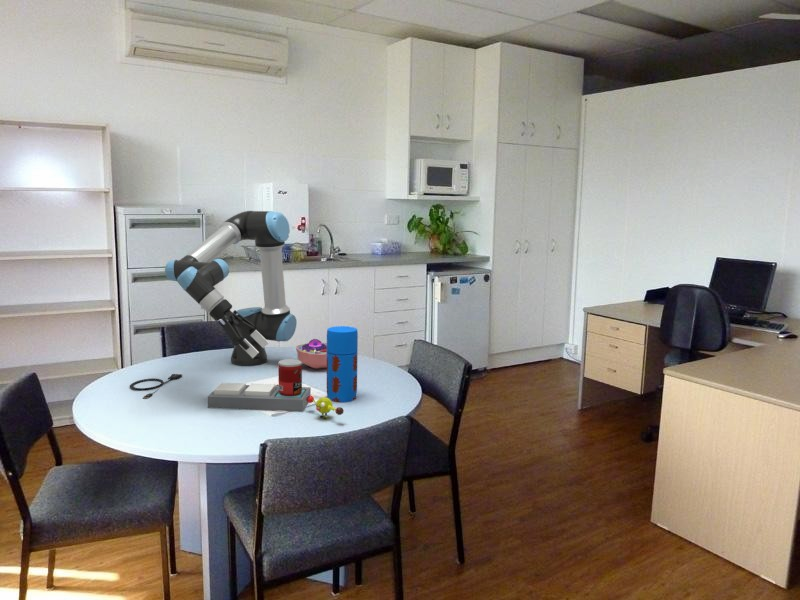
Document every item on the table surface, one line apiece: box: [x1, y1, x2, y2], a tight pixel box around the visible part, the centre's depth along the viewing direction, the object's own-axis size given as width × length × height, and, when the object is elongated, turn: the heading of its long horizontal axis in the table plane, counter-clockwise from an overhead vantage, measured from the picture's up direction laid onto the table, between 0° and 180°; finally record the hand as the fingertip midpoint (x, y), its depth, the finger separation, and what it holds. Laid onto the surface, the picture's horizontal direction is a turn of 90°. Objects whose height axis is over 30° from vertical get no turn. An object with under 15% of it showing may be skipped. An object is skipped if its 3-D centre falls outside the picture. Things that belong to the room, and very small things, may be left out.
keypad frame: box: [206, 384, 312, 412], centre depth 218 cm, size 14×32×4 cm, turn 87°
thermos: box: [326, 325, 359, 403], centre depth 224 cm, size 11×11×25 cm
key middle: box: [245, 383, 277, 396], centre depth 218 cm, size 8×8×4 cm
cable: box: [129, 373, 183, 400], centre depth 235 cm, size 14×28×2 cm, turn 174°
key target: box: [275, 390, 305, 398], centre depth 218 cm, size 8×8×4 cm
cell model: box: [295, 338, 327, 370], centre depth 265 cm, size 17×20×11 cm
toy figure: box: [306, 395, 344, 419], centre depth 205 cm, size 18×6×7 cm, turn 45°
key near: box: [213, 382, 247, 395], centre depth 219 cm, size 8×8×4 cm
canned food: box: [277, 358, 303, 396], centre depth 217 cm, size 8×8×11 cm
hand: (261, 350), depth 216 cm, fingers open, 13 cm apart
